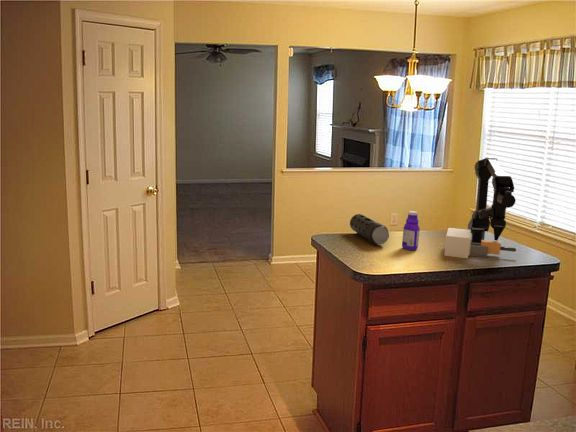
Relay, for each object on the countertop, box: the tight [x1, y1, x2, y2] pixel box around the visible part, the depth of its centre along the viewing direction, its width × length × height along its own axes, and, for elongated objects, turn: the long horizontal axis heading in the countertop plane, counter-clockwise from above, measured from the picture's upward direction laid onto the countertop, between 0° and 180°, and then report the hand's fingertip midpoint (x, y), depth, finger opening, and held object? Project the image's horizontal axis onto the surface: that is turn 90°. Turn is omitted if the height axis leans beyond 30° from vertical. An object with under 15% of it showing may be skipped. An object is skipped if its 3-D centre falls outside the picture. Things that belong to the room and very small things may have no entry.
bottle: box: [401, 210, 420, 251], centre depth 267 cm, size 7×6×17 cm
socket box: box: [444, 227, 489, 259], centre depth 264 cm, size 18×18×9 cm
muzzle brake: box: [349, 213, 390, 245], centre depth 282 cm, size 10×28×10 cm, turn 15°
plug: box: [481, 239, 517, 256], centre depth 260 cm, size 15×4×5 cm, turn 72°
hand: (495, 238), depth 260 cm, fingers open, 9 cm apart
